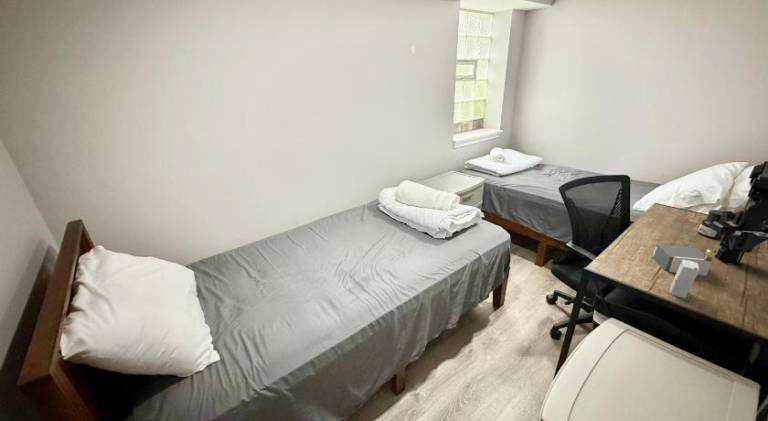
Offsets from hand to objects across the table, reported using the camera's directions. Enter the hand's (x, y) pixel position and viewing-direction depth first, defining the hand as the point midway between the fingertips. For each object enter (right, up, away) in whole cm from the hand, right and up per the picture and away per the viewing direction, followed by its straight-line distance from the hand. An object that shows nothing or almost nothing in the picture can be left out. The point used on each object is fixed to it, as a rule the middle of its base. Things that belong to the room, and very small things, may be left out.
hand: (737, 250), depth 115 cm
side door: (-11, -10, +7) cm, 17 cm away
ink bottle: (+27, +3, +36) cm, 45 cm away
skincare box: (-25, -15, -3) cm, 29 cm away
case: (-10, -8, +13) cm, 18 cm away
